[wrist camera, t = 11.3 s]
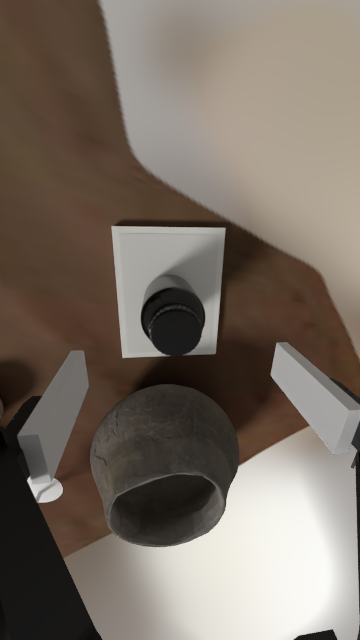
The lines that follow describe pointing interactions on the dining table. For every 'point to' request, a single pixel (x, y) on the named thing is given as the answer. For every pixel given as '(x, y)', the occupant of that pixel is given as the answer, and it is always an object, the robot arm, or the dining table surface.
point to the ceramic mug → (1, 409)
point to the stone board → (166, 259)
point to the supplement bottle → (172, 315)
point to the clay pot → (164, 465)
